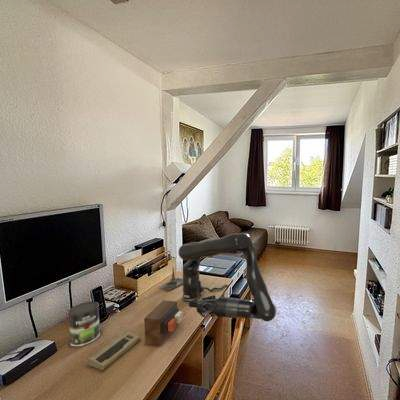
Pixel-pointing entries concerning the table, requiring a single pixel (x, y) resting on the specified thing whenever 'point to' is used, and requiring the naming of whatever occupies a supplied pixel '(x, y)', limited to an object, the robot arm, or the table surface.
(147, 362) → the table surface
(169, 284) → the eiffel tower figurine
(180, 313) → the cream key
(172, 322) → the terracotta key
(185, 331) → the table surface
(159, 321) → the key block
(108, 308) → the calculator
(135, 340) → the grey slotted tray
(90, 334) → the coffee can
